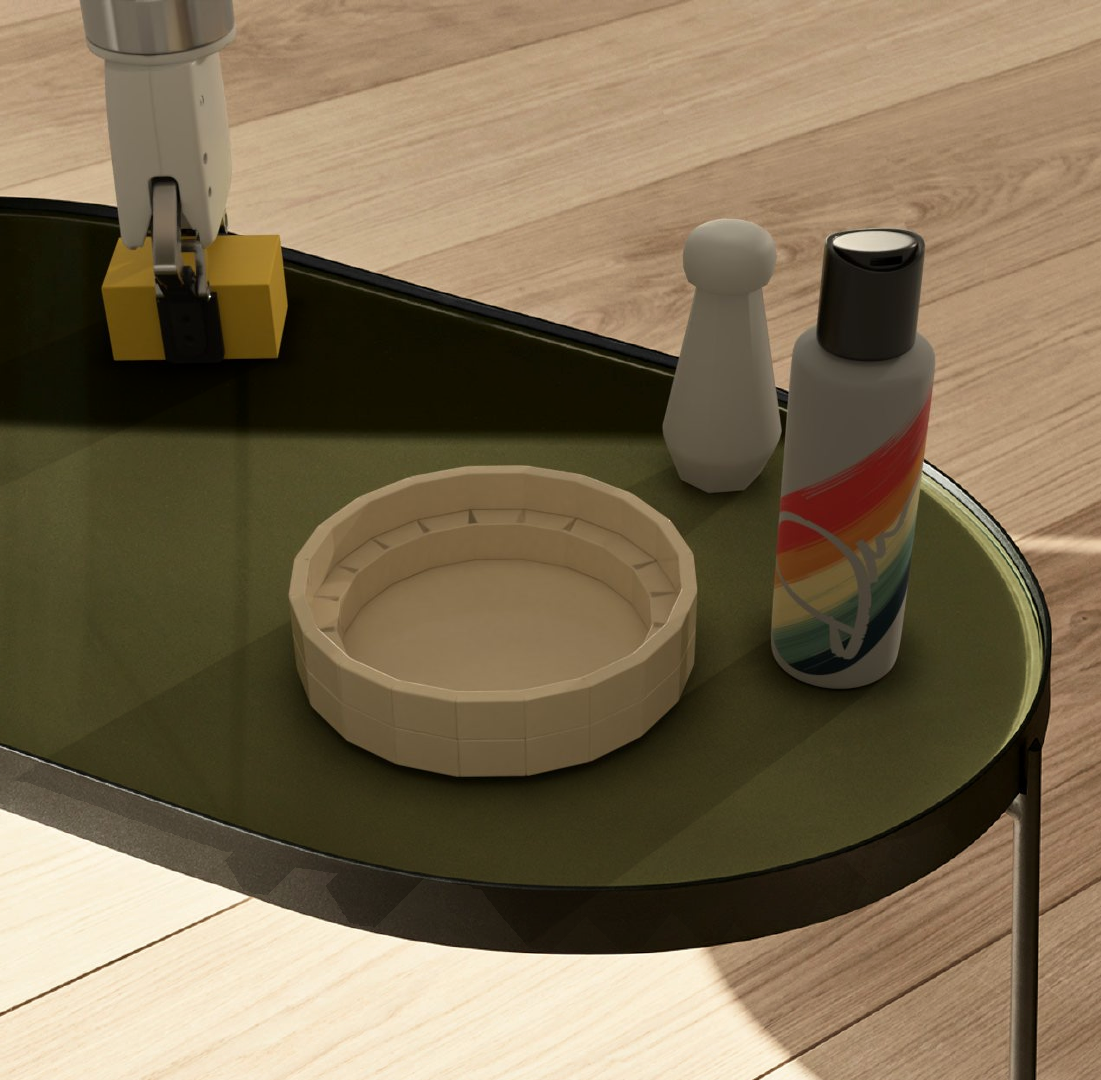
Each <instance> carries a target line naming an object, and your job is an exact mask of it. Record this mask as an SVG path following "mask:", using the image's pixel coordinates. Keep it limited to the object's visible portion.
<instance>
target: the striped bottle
mask: <svg viewBox="0 0 1101 1080" xmlns="http://www.w3.org/2000/svg"><path fill="white" fill-rule="evenodd" d="M823 246H824V247H823V256H822V267H821V277H820V285H819V286H820V287H819V295H818V296H819V297H818V308H817V317H816V324H814V325H812V326H810V327H809V328H807V329H806V330H804V331H803V332H802V333H800V335H799V336H798V337H797V339H796V340H795V342H794V345H793V347H792V353H791V360H790V361H791V362H790V369H789V370H790V371H789V383H788V397H787V409H786V422H785V423H786V424H785V434H784V435H785V436H784V450H783V461H782V463H783V464H782V474H781V475H782V476H781V491H780V500H779V501H780V502H779V516H778V529H777V542H776V555H775V568H774V569H775V570H774V581H773V582H774V583H773V594H772V595H773V597H772V610H771V627H770V629H771V631H770V642H771V643H770V645H771V651H772V655H773V657H774V659H775V661H776V662H777V664H778V665H779V666H780V668H781V669H783V670H784V672H786V673H787V674H788V675H790V676H791V677H792V678H794V679H796V680H798V681H800V682H803V683H806V684H809V685H811V686H816V687H820V688H826V689H838V690H839V689H841V690H842V689H843V690H844V689H845V690H847V689H853V688H860V687H863V686H866V685H870V684H872V683H875V682H876V681H879V680H880V679H881V678H883V677H884V676H886V675H887V674H888V673H889V672H890V671H891V670H892V668H893V667H894V665H895V663H896V661H897V658H898V655H899V649H900V647H901V646H900V644H901V639H902V634H903V633H902V632H903V626H904V619H905V610H906V602H907V595H908V587H909V579H910V571H911V563H912V556H913V547H914V541H915V540H914V539H915V532H916V524H917V516H918V508H919V500H920V493H921V492H920V491H921V485H922V478H923V477H922V476H923V471H924V470H923V468H924V462H925V453H926V446H927V438H928V437H927V436H928V429H929V422H930V416H931V415H930V414H931V406H932V398H933V389H934V381H935V373H936V354H935V349H934V347H933V346H932V344H931V343H930V341H929V340H928V339H927V338H926V337H925V336H924V335H922V333H920V332H918V321H919V312H920V304H921V303H920V302H921V293H922V284H923V283H922V282H923V274H924V264H925V256H926V243H925V240H924V238H923V237H922V236H921V235H920V234H919V233H917V232H916V231H914V230H910V229H906V228H900V227H868V228H867V227H866V228H856V229H847V230H842V231H836V232H833V233H830V234H829V235H827V237H826V238H825V240H824V245H823Z"/></svg>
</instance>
